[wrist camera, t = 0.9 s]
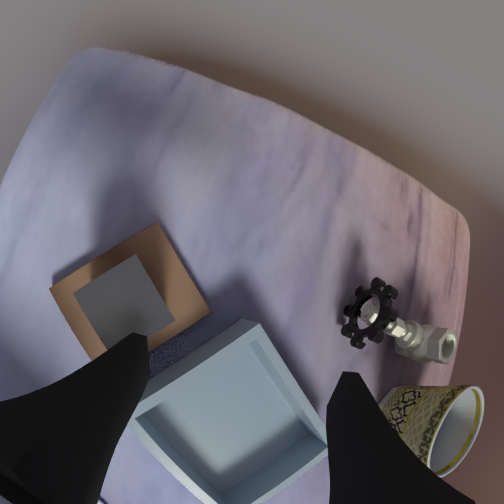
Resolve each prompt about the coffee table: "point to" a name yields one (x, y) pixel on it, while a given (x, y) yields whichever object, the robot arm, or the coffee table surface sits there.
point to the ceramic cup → (436, 421)
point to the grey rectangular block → (123, 303)
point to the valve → (396, 327)
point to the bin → (231, 419)
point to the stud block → (159, 271)
